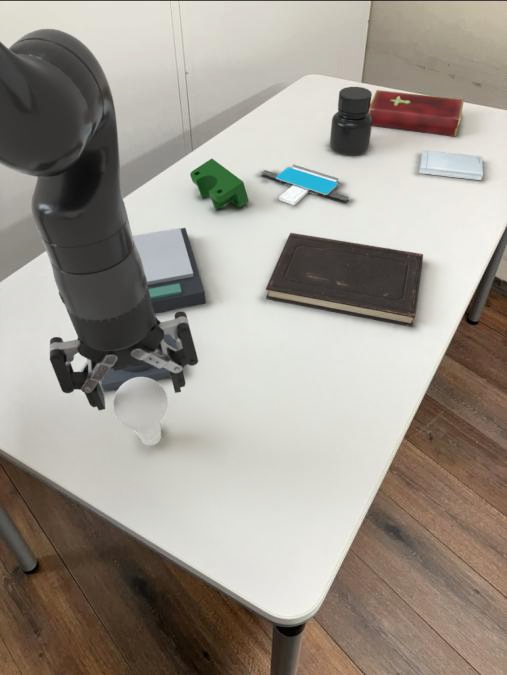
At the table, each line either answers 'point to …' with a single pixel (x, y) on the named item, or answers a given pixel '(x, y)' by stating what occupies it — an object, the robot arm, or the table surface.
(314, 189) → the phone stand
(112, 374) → the control unit
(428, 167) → the hard drive
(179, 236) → the scale
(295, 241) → the hardcover book
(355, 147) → the ink bottle
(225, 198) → the clamp
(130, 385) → the lightbulb
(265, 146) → the table surface
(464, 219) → the table surface
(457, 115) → the hardcover book
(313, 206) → the table surface
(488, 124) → the table surface
